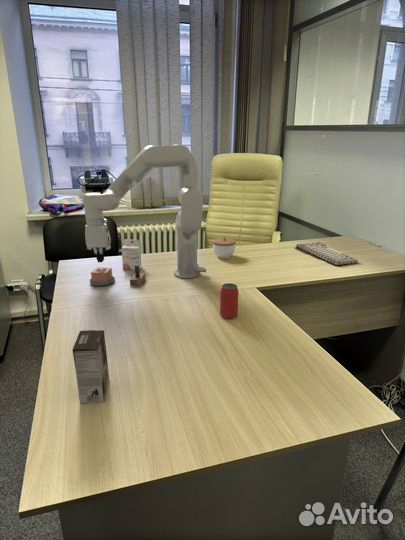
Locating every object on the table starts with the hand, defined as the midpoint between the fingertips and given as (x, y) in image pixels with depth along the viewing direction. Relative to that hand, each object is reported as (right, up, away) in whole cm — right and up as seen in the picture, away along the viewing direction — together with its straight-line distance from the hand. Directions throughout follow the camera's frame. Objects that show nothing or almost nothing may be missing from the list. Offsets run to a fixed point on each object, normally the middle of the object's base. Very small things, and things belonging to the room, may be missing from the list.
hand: (100, 261), depth 168 cm
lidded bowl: (+58, +3, +38) cm, 70 cm away
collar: (0, -8, +1) cm, 8 cm away
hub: (0, -10, +2) cm, 10 cm away
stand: (+17, -10, +2) cm, 19 cm away
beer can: (+56, -21, -29) cm, 67 cm away
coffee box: (+18, -36, -70) cm, 81 cm away
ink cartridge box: (+11, -3, +19) cm, 23 cm away
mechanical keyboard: (+116, +4, +42) cm, 123 cm away
